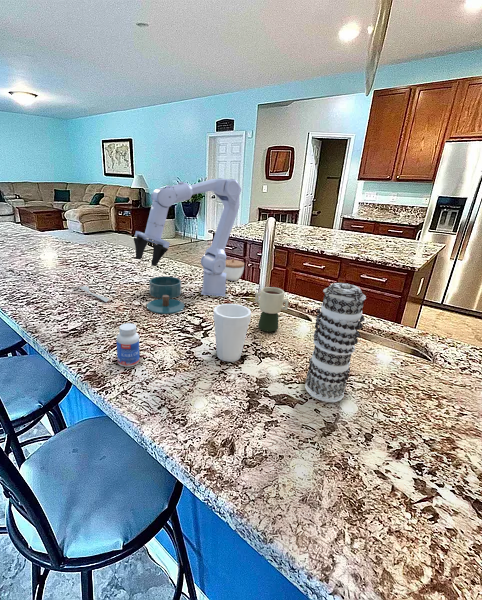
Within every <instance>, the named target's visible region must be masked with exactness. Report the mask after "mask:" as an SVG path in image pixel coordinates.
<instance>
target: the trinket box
mask: <svg viewBox="0 0 482 600" xmlns="http://www.w3.org/2000/svg"><path fill="white" fill-rule="evenodd" d="M244 270H245V262H244V261H241V260H238V259H237V260H236V259H235V258H232V259H226V267H225V269H224V271H223V273H226V281H233V282H234V281H238V280H239V279H240V278H241V277H242V276H243V274H244Z"/></svg>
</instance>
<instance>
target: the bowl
mask: <svg viewBox="0 0 482 600" xmlns="http://www.w3.org/2000/svg"><path fill="white" fill-rule="evenodd" d="M148 288H149V290H148V291H149V295H150V296H152V297H154V298H158V299H162V296H163V295H169V299H173V298H177V297H179V296H181V295H182V280H181V279H180V278H178V277H174V276H169V275H168V276H167V275H166V276H162V275H161V276H156V277H153V278H152V277H151V278H150V279H149V281H148Z"/></svg>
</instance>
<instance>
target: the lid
mask: <svg viewBox="0 0 482 600" xmlns="http://www.w3.org/2000/svg"><path fill="white" fill-rule="evenodd" d="M146 309H147V310H148V311H150V312H152V313H154V314H160V315H161V314H162V315H171V314H172V315H173V314H176V313H179V312H181V311H183V310H184V309H185V304H184V302H183V301H181V300H178V299H173V298H169V295H163V296H162V298H158V299H153V300H151V301H149V302H148V303H147V304H146Z"/></svg>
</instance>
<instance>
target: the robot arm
mask: <svg viewBox="0 0 482 600" xmlns="http://www.w3.org/2000/svg"><path fill="white" fill-rule="evenodd" d="M207 192H212V193H214V195H215V196H216V197H217V198H218V199H219V200H220V201H221V203H222V205H223V209H222V212H221V215H220V218H219V221H218V224H217V227H216V230H215V234H214V236H213V239H212V242H211V245H210V246H209V247H207V249H206V250H205V252H204V254H203V255H202V256H201V259H200V265H201V267H202V268H203V269H202V270H203V274H202V275H203V277H202V278H203V279H202V289H201V292H200V295H203V296H217V297H218V296H219V297H225V296H226V291H227V285H226V284H227V279H226V273H223V271H224V269H225V267H226V260H227V254H226V251H225V250H226V247H227V244H228V241H229V238H230V235H231V232H232V229H233V226H234V223H235V220H236V218H237V215H238V212H239V209H240V205H241V204H240V195H241V192H242V187H241V185H240V183H239V181H238V180H237V179H235V178H221V177H219V178H211V179H207V180H203V181H200V182H196V183H193V184H189V183H187V182H184V181H178V184H172V185H170V184H167V185H165V188H164V187H157V188H155V189H154V190H153V192H152V193H151V194H150V199H151V201H152V203H151V207H150V210H149V215H148V218H147V222H146V225H145V226H146V227H145V230H144V232H142V231H139V230H135V233H134V237H133V242H134V247H135V248H134V249H135V259H136V260H142V259H143V256H144V252H145V249H146V247H147V245H148V244H149V242H150V243H153V245H152V248H153V249H152V250H153V252H152V258H151V266H153V267H157V266H158V264H159V262H160V260H161V259H162V257H163V256H164V255H165V254H166V253H167V252H168V251H169V248H170V245H171V242H169V241H167V240H164V239H162V236H163V232H164V229H165V225H166V220H167V216H168V212H169V209H170V207H172V206H173V204H177V203H181V202H185V201H188V200H190V199H192V196H193V195H197V194H198V195H199V194H203V193H207Z"/></svg>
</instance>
